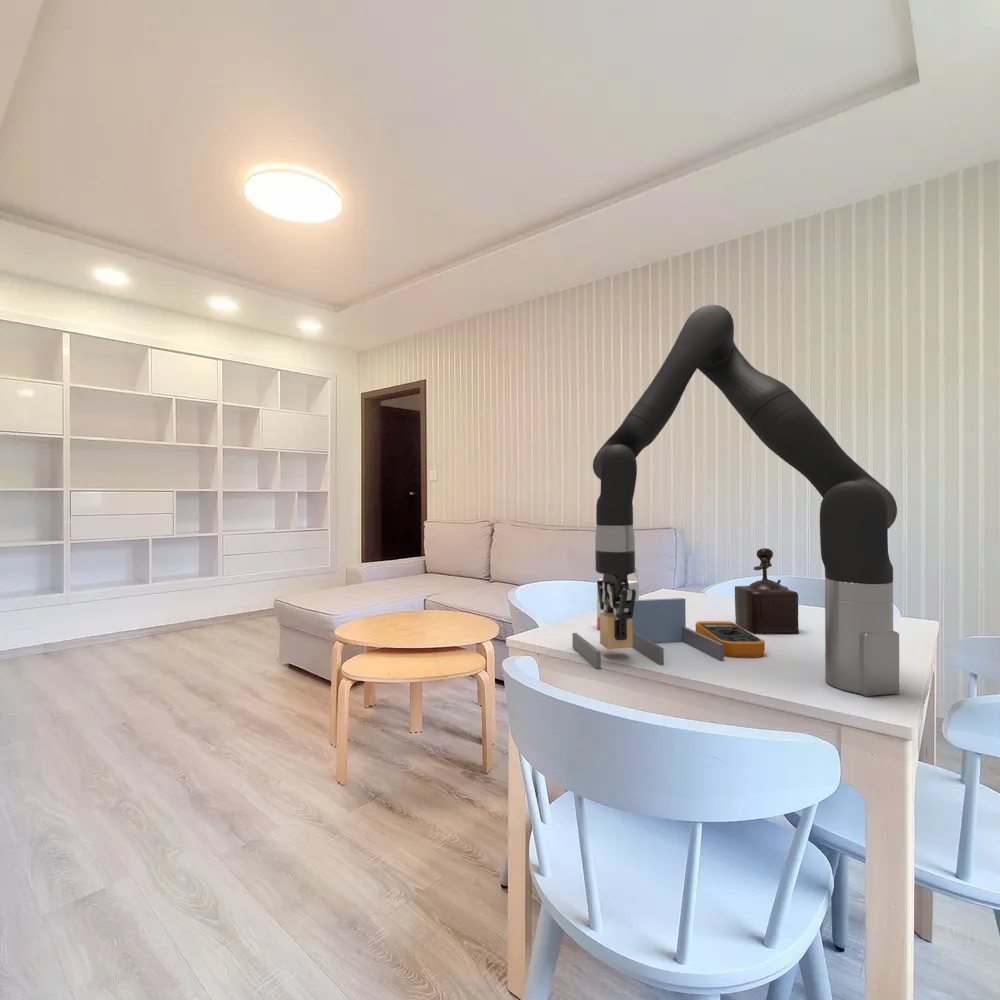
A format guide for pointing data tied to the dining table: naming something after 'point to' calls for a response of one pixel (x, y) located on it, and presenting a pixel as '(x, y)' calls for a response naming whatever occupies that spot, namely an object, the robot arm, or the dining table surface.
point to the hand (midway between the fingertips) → (615, 636)
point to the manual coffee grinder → (766, 603)
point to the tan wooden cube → (613, 633)
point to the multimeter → (732, 638)
